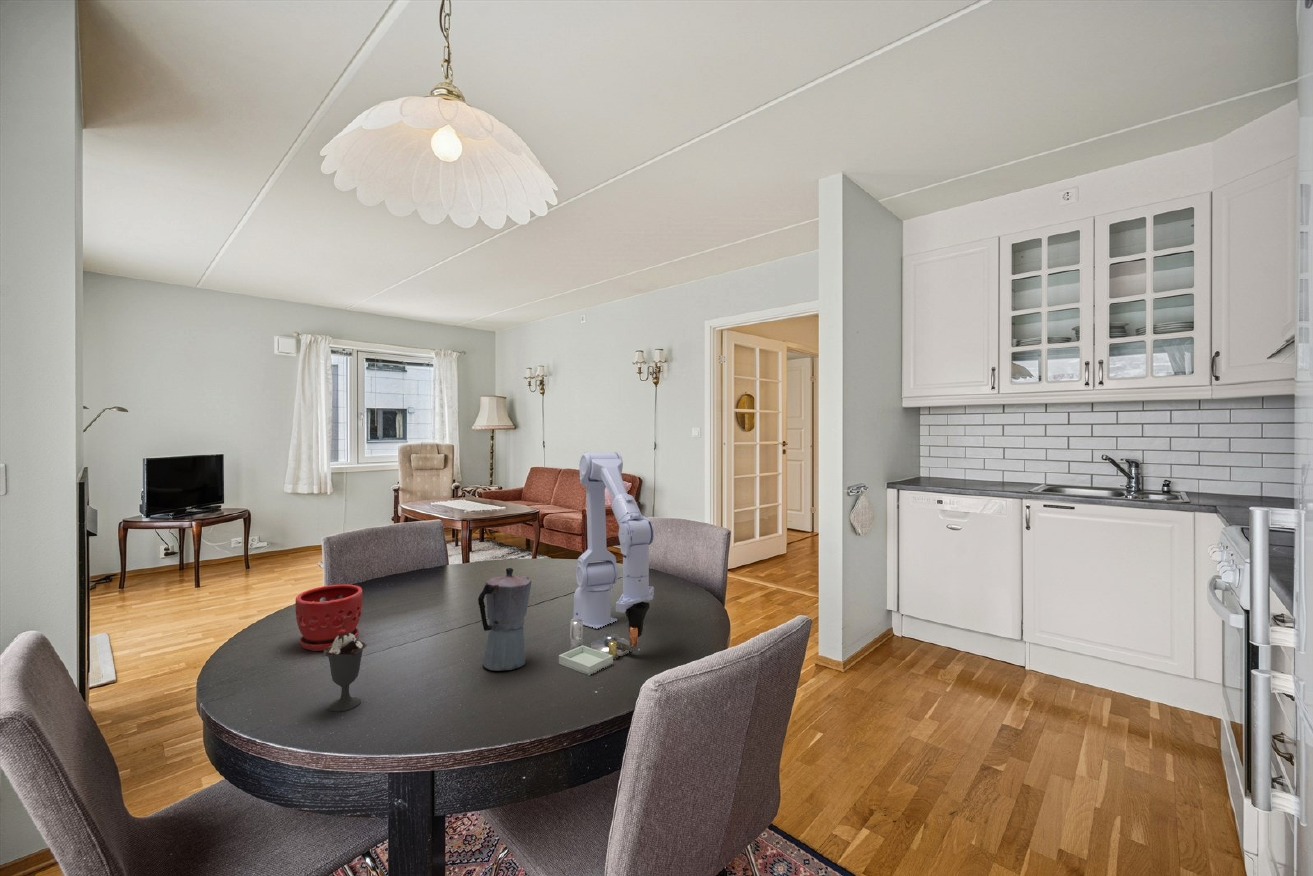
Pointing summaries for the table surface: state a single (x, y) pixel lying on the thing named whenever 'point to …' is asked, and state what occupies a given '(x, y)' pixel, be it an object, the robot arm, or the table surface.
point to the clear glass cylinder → (576, 633)
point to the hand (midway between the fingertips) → (635, 636)
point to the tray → (585, 660)
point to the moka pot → (505, 620)
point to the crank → (622, 643)
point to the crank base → (608, 647)
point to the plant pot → (327, 614)
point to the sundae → (344, 667)
